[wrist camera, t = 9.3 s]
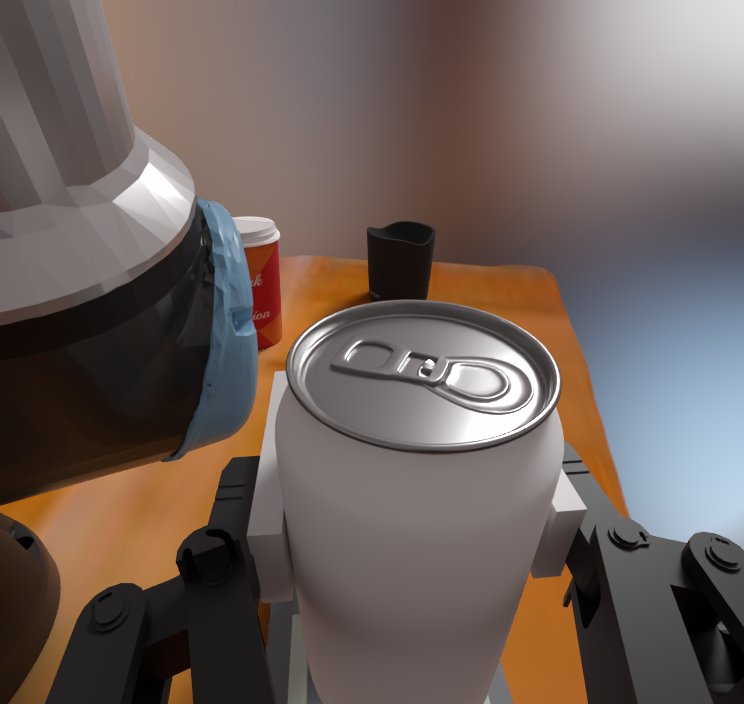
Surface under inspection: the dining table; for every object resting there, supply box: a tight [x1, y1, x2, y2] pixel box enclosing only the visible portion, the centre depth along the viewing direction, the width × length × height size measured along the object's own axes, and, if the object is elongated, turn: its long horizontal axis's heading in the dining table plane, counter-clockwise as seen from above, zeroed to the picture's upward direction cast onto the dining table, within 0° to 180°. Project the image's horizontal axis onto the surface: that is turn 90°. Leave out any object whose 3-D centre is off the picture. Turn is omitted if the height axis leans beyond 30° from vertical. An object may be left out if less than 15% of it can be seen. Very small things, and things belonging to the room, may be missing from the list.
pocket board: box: [266, 579, 513, 704], centre depth 24 cm, size 12×18×3 cm, turn 5°
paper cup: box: [233, 217, 282, 349], centre depth 49 cm, size 8×8×14 cm
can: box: [275, 300, 564, 704], centre depth 12 cm, size 6×6×12 cm
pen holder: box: [367, 221, 436, 302], centre depth 61 cm, size 9×9×10 cm
